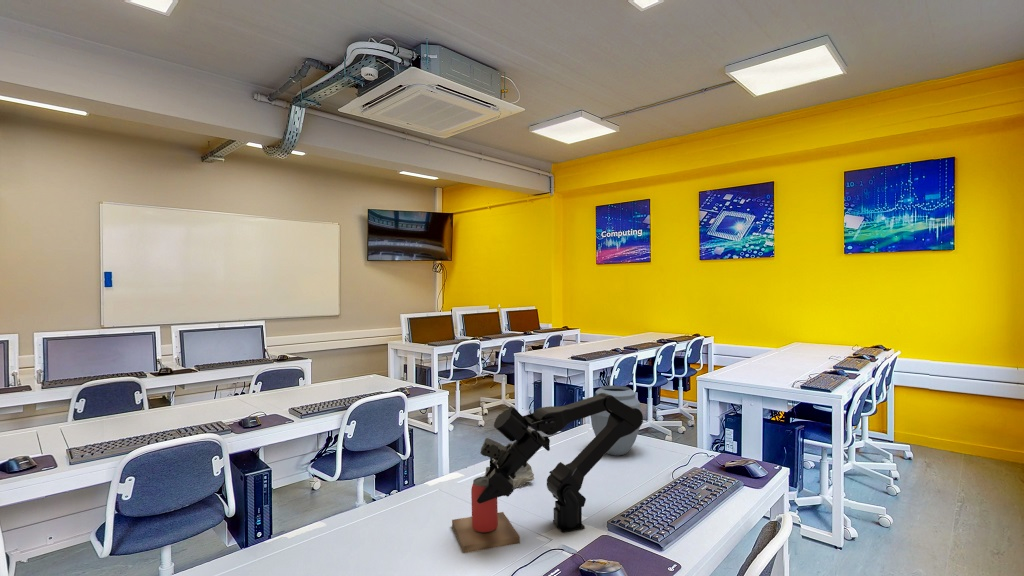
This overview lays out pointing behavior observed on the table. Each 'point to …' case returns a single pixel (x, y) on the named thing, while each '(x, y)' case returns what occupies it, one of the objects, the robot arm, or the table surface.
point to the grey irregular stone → (521, 476)
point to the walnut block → (484, 534)
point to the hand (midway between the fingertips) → (478, 494)
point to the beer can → (483, 508)
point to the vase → (601, 418)
